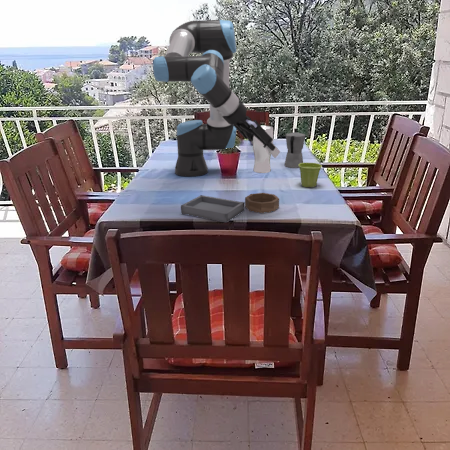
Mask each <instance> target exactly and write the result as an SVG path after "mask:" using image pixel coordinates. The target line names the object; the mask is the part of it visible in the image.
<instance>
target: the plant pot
mask: <svg viewBox="0 0 450 450" xmlns="http://www.w3.org/2000/svg"><path fill="white" fill-rule="evenodd" d="M298 166H299V168H298V169H299V172H300V184H301V186H302V187H305V188H315V187H317V184H318V179H319V174H320V171H321V168H323V165H322V164H321V163H317V162H303V163H300V164H299V165H298Z"/></svg>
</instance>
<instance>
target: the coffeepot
mask: <svg viewBox="0 0 450 450" xmlns="http://www.w3.org/2000/svg"><path fill="white" fill-rule="evenodd" d="M305 140H306V134H305V133H301V132H298V128H294V129H293V132H290V133H285V142H286V143H285V144H286V149H287V152H286V156H285V160H284V166H285V167H286V168H289V169H300V168H299V166H298V165H299V164H300V163H304V159H303V153H302V152H303V149H304V144H305Z"/></svg>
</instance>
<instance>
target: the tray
mask: <svg viewBox="0 0 450 450" xmlns="http://www.w3.org/2000/svg"><path fill="white" fill-rule="evenodd" d="M241 212H242V213H243V212H245V201H244V202H243V201H237V200H232V199H226V198H221V197H220V198H219V197H215V196H209V195H202V194H200V195H198V196H197V197H195V198H192V199H191V200H189V201H187V202H185V203H183V204H181V205H180V214H181V213H182V214H181V215H185V214H189V215H188V216H190V215H193V216H192V217H195V216H198V217H197V218H200V217H203V218H202V219H205V218H207V220H210V219H212V220H211V221H216V222H221V223H228V222H230V221H231V220H233V219H234V218H236V217H237V216H239V215H240V214H241ZM238 214H239V215H238ZM235 216H236V217H235ZM232 218H233V219H232Z"/></svg>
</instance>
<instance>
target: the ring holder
mask: <svg viewBox="0 0 450 450" xmlns="http://www.w3.org/2000/svg"><path fill="white" fill-rule="evenodd" d="M244 208H246V209H247V210H248V212H252V211H254V212H253V213H258V212H259V214H265V213H264V212H267V213H272V212H271V211H274V212H276V211H277V210H278V209H279V208H280V198H279V197H278V196H277V195H276V194H273V193H267V192H258V193H250V194H248V195H247V196H246V197H245V198H244ZM276 209H277V210H276Z"/></svg>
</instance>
